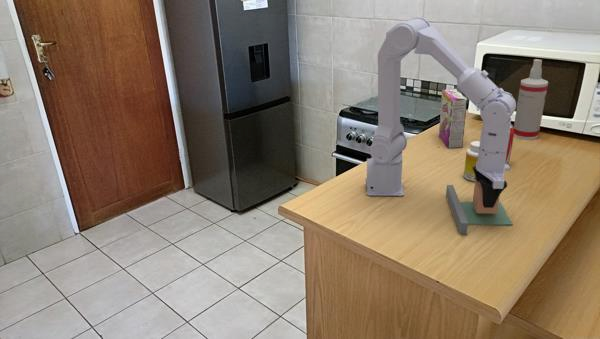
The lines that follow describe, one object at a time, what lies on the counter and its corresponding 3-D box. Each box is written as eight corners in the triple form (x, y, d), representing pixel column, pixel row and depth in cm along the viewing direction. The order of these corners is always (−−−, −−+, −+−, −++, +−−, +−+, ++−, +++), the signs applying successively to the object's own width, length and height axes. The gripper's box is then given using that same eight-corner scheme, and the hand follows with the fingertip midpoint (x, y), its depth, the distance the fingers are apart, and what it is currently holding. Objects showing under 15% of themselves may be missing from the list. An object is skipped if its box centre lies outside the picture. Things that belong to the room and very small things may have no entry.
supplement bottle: (476, 184, 117) (481, 149, 113) (459, 177, 122) (463, 143, 117) (489, 178, 120) (494, 143, 116) (472, 171, 124) (476, 138, 120)
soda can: (482, 167, 126) (487, 128, 121) (483, 157, 132) (488, 120, 127) (509, 170, 124) (515, 130, 118) (508, 160, 129) (514, 121, 124)
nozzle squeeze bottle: (507, 133, 148) (518, 58, 137) (526, 130, 149) (539, 56, 139) (523, 141, 141) (536, 63, 130) (543, 137, 143) (558, 60, 132)
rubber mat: (466, 224, 101) (466, 223, 100) (457, 202, 109) (458, 201, 109) (512, 225, 99) (512, 224, 99) (500, 203, 108) (500, 201, 108)
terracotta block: (476, 213, 102) (479, 190, 99) (472, 203, 106) (475, 181, 103) (496, 213, 101) (500, 190, 99) (491, 203, 105) (495, 181, 103)
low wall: (459, 234, 97) (461, 223, 96) (445, 195, 113) (446, 184, 112) (466, 234, 97) (468, 223, 96) (451, 195, 113) (452, 184, 112)
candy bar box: (437, 136, 149) (441, 89, 142) (452, 135, 149) (456, 88, 142) (447, 149, 139) (451, 99, 132) (463, 148, 139) (468, 98, 132)
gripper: (523, 162, 90) (513, 218, 96) (502, 135, 103) (495, 186, 109) (487, 162, 91) (479, 217, 97) (471, 136, 104) (465, 186, 110)
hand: (485, 201), depth 103 cm, fingers closed on terracotta block, 4 cm apart
